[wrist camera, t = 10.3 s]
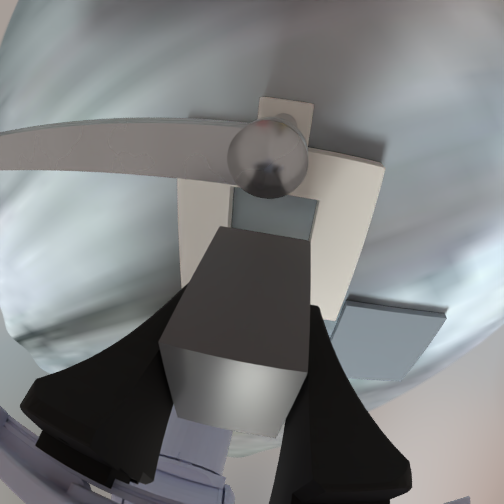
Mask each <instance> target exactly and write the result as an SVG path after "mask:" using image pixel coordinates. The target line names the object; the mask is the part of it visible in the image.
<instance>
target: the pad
mask: <svg viewBox="0 0 504 504" xmlns="http://www.w3.org/2000/svg"><path fill="white" fill-rule="evenodd" d="M446 319H447V318H446V315H445V314H444V313H435V312H427V311H419V310H412V309H404V308H396V307H389V306H382V305H375V304H368V303H361V302H354V301H348V300H346V302H345V304H344V307H343V309H342V312H341V314H340V317H339V319H338V322H337V324H336V326H335V329H334V331H333V333H332V336H331V338H330V340H331V343H332V345H333V348H334V350H335V352H336V355H337V357H338V359H339V362H340V364H341V366H342V368H343V370H344V372H345V374H346V376H347V378H354V379H367V380H383V381H402V379H403V378H404V377H405V376H406V374H407V373H408V372H409V371H410V369H411V368H412V367H413V366H414V364H415V363H416V362H417V360H418V359H419V358H420V356H421V355H422V354H423V352H424V351H425V350H426V348H427V347H428V345H429V344H430V343H431V341H432V340H433V338H434V337H435V335H436V334H437V333H438V331H439V330H440V328H441V327H442V325H443V323H444V322H445V320H446Z"/></svg>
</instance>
